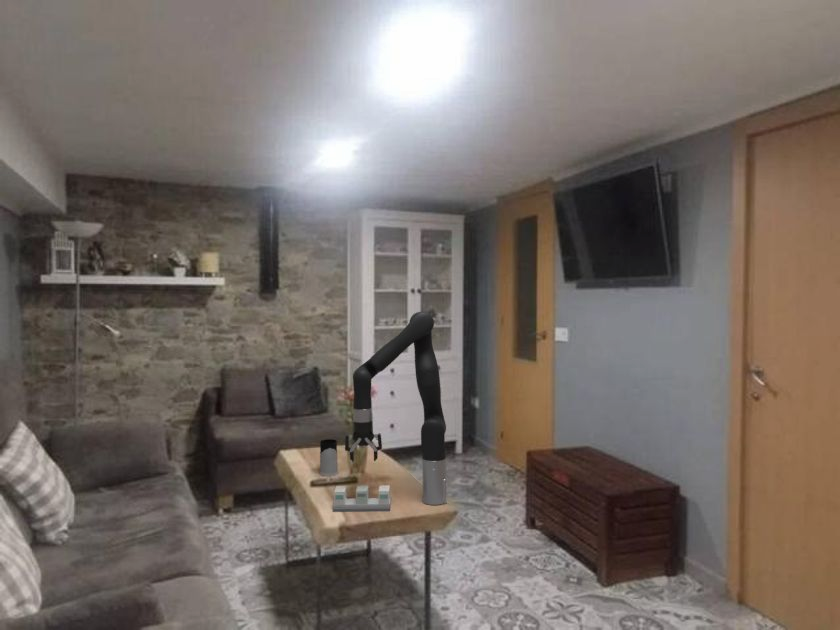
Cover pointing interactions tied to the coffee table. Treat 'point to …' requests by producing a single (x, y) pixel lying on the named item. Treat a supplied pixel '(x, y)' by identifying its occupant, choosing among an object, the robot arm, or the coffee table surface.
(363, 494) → the block
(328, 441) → the glass holder
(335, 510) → the board
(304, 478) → the coffee table surface
